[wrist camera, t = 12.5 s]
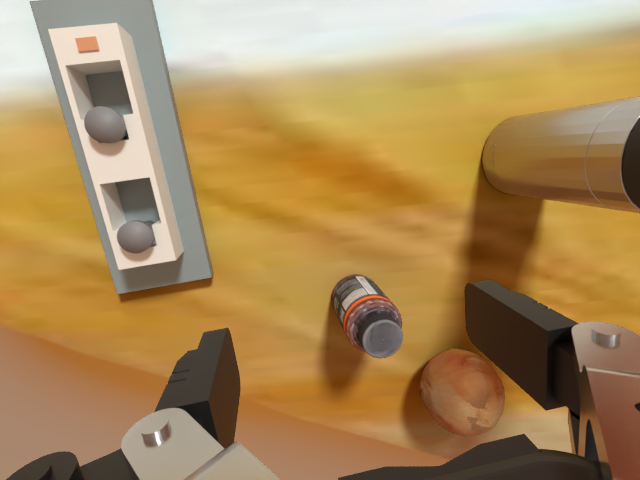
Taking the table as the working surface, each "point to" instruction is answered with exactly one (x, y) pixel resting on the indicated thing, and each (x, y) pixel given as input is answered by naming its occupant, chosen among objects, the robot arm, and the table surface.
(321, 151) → the table surface
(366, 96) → the table surface
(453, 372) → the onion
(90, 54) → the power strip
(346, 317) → the supplement bottle
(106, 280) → the table surface
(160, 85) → the board
